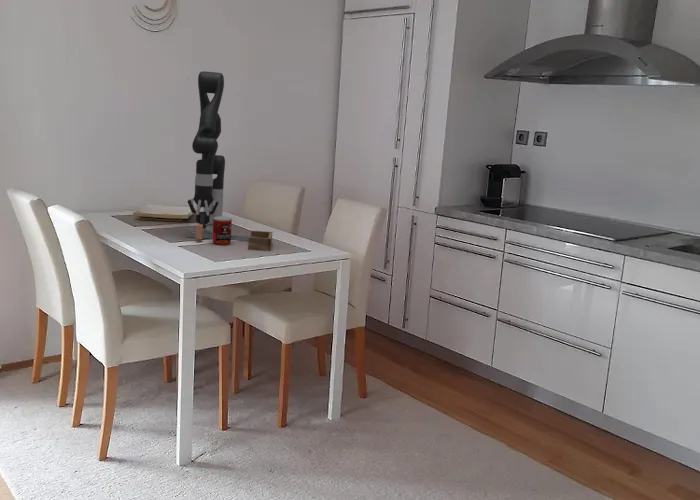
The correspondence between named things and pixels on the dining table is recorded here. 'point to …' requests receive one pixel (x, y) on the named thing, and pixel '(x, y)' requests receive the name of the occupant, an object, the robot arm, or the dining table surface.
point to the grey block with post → (202, 227)
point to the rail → (233, 236)
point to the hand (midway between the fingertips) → (202, 223)
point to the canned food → (222, 230)
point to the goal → (260, 240)
